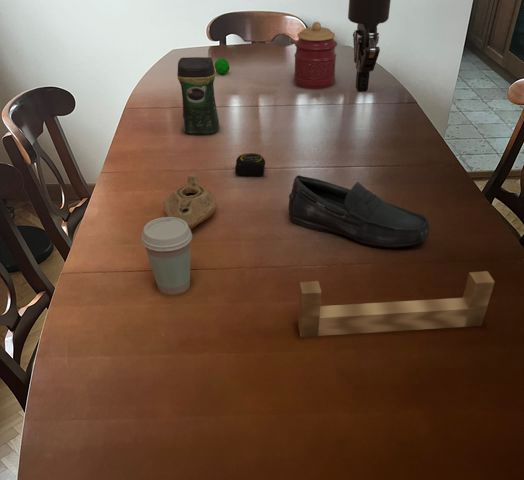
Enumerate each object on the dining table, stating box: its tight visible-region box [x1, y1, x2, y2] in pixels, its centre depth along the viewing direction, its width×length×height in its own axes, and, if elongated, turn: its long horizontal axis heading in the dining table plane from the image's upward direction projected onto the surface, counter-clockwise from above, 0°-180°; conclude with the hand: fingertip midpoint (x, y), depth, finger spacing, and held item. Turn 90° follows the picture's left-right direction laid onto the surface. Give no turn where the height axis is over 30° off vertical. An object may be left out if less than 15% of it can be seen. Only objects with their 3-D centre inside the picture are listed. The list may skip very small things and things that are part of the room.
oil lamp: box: [163, 173, 217, 230], centre depth 122 cm, size 11×15×8 cm
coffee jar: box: [177, 56, 220, 136], centre depth 155 cm, size 10×8×19 cm
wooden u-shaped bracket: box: [297, 270, 495, 338], centre depth 95 cm, size 30×3×9 cm, turn 94°
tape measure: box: [234, 152, 266, 177], centre depth 140 cm, size 7×7×4 cm
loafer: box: [288, 174, 430, 249], centre depth 116 cm, size 10×29×10 cm, turn 67°
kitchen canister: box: [293, 21, 338, 90], centre depth 183 cm, size 13×13×18 cm
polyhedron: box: [213, 57, 230, 76], centre depth 195 cm, size 5×5×5 cm
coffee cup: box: [141, 216, 193, 296], centre depth 103 cm, size 8×9×12 cm
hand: (361, 90), depth 119 cm, fingers closed
